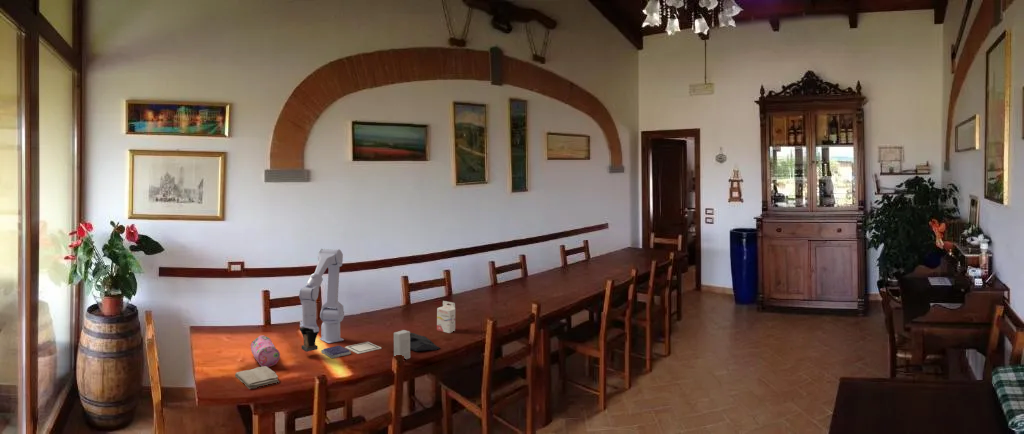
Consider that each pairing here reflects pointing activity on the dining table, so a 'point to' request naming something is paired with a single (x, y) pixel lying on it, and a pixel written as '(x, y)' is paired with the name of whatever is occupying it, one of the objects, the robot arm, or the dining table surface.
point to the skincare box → (402, 343)
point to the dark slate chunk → (421, 343)
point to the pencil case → (265, 351)
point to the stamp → (306, 345)
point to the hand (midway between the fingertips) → (309, 344)
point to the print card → (363, 347)
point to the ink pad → (335, 351)
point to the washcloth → (257, 377)
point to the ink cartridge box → (446, 317)
